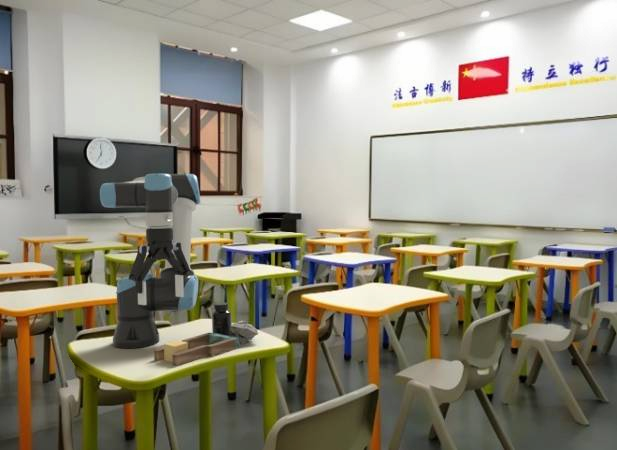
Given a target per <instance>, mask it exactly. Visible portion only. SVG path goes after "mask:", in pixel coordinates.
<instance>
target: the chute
mask: <svg viewBox="0 0 617 450" xmlns="http://www.w3.org/2000/svg"><path fill="white" fill-rule="evenodd" d="M181 341H182V342H187V343H188V350H185V351H182V352H179V353H175V354H172V358H173V362H172V365H173V366H176V367H178V366H181V365H183V364H186V363H190V362H193V361H196V360H199V359H201V358H205V357H207V356H209V357H214V356H217V355H221V354H224V353H226V352H230V351H232V350H235V349H238V348H240V342H239V338H236V337H231V336H225V335H220V334H215V333H213V332H205V333H203V334H200V335H195V336H192V337H188V338H184V339H181ZM208 344H209V345H208ZM153 354H154V355H153V356H154V361H157V362H160V361H163V360H164V346H163V347H159V348H156V349H154V350H153Z"/></svg>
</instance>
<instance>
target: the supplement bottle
mask: <svg viewBox="0 0 617 450" xmlns="http://www.w3.org/2000/svg"><path fill="white" fill-rule="evenodd" d="M213 309H214V311H213V312H212V313H211V325H212V326H211V329H212V330H211V331H212V333H215V334H220V335H225V336H230V335H229V333H230V328H231V327H232V324H233V323H232V322H233V319H232V312H231V311H230V310H229V303H228V302H216V303H214V308H213Z"/></svg>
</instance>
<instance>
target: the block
mask: <svg viewBox="0 0 617 450" xmlns="http://www.w3.org/2000/svg"><path fill="white" fill-rule="evenodd" d="M163 347H164V359H163V360H164V361H166V362H171V363H173V358H172V354H175V353H179V352H182V351H185V350H188V343H187V342H182V340H173V341H170V342H167V343H166V342H165V343H163Z"/></svg>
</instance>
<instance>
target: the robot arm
mask: <svg viewBox="0 0 617 450" xmlns="http://www.w3.org/2000/svg"><path fill="white" fill-rule="evenodd" d="M200 195H201V194H200V187H199V181H198V177H197V175H195V174H194V173H185V172H184V173H148V174H146V175H145V176H140V177H136V178H134V179H133V180H131V181H124V182H123V181H122V182H105V183H104V182H103V183H102V184H101V186H100V189H99V200H100V203H101V206H102V207H104V208H112V209H116V208H120V209H121V208H145V213H144V214H145V226H146V227H147V228H146V229H145V236H146V237H145V240H146V241H147V242H146V243H147V246H146V245H138V246H137V253H136V257H135V259H134V262H133V264H132V267H131V270H130V272H129V275H128V276H125V277H121V278H119V279H118V280H117V282H116V292H115V293H116V307H117V308H116V310H117V311H116V313H117V323H116V326H115V329H114V333H113V336H112V346H113V347H114V348H119V349H138V348H139V349H140V348H144V347H149V346H153V345H156V344H157V343H159V341H160V333H159V330H158V327H157V325H156V321H155V320H154V312H173V311H174V312H175V311H176V312H177V311H179V312H182V311H190V310H193V308H194V307H195V305H196V302H197V298H198V293H199V278H198V276H197V275H195V272H194V270H193V269H191V252H192V251H191V250H192V245H191V244H192V241H191V240H192V223H193V221H192V220H193V219H192V217H193V212H194V211H195V210H196V209H197V205H200V204H201V196H200ZM161 260H164V261H165V263H164V267H163V269H161V271H160V274H159V277H158V276H156V277H154V275H153V273H151V272H150V270H151V268H152V267H153V265H154V264H155V263H156V262H157V261H161Z"/></svg>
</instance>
